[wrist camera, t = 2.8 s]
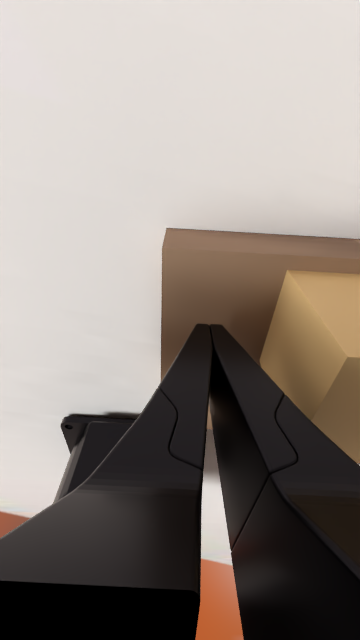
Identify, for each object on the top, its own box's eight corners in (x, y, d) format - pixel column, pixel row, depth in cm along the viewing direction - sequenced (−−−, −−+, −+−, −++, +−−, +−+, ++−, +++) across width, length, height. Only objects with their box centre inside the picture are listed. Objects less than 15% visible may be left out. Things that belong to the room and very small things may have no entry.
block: (357, 366, 11) (428, 467, 8) (259, 360, 11) (289, 459, 8) (411, 277, 9) (547, 367, 5) (287, 270, 9) (347, 356, 5)
